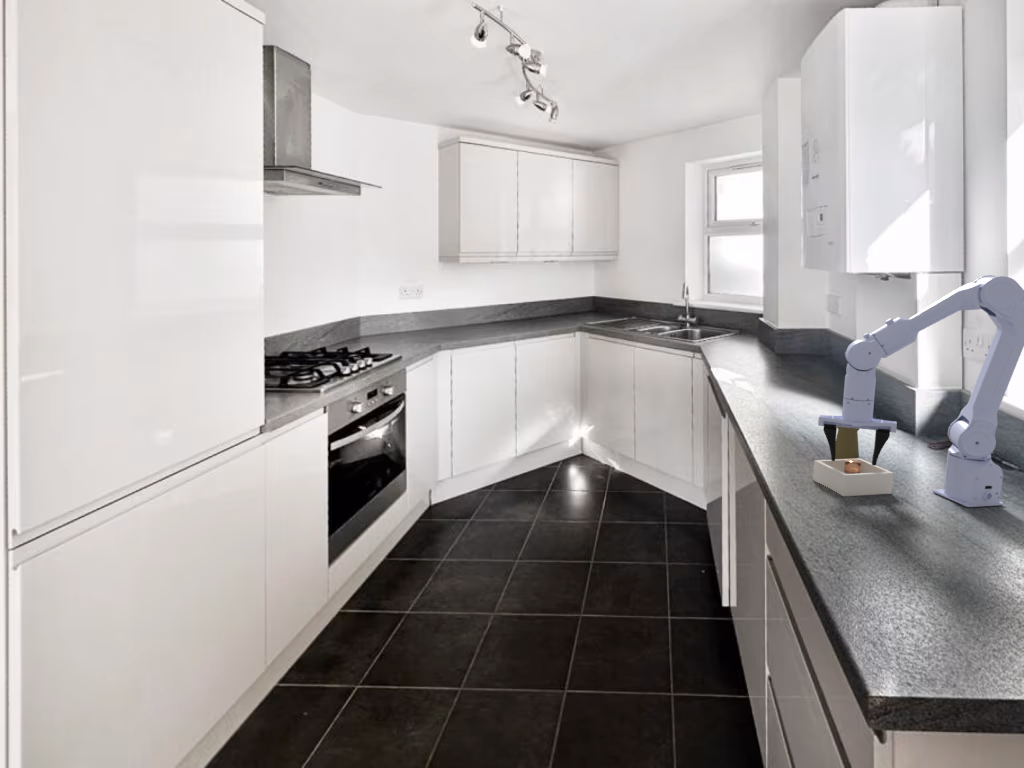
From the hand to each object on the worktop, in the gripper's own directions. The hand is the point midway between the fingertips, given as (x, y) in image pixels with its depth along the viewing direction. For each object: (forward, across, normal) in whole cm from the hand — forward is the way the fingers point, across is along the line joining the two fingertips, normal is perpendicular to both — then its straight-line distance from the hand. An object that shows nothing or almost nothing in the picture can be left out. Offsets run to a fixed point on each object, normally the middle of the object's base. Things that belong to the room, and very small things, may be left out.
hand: (853, 461), depth 147 cm
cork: (+6, -2, +20) cm, 21 cm away
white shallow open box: (+5, 0, 0) cm, 5 cm away
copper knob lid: (+5, 0, 0) cm, 5 cm away
